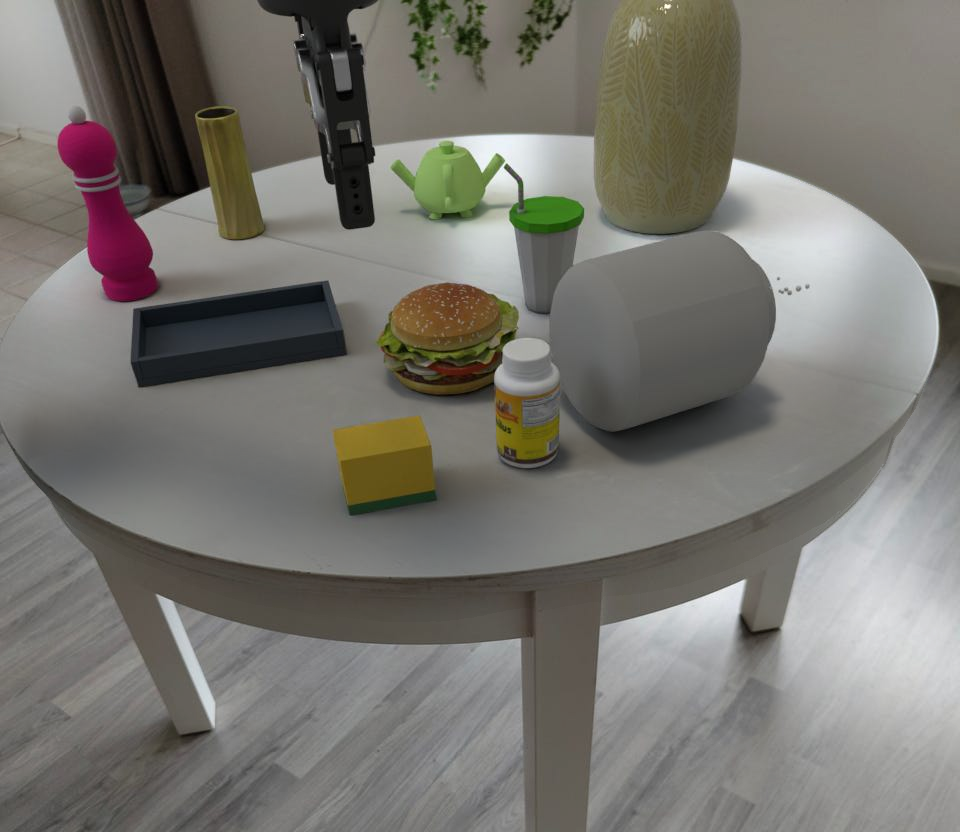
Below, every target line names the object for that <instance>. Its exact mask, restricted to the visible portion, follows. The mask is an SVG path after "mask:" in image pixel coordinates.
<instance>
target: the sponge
mask: <svg viewBox="0 0 960 832" xmlns="http://www.w3.org/2000/svg"><path fill="white" fill-rule="evenodd" d="M332 436H333V441H334V448H335V453H336V459H337V464H338V469H339V474H340V481H341V485H342V490H343V493H344V497H345V498H344V499H345V502H346V506H347V510H348V515H349V516H354V515H359V514H365V513H371V512H376V511H381V510H386V509H387V510H388V509H394V508H398V507H403V506H410V505H415V504H419V503H420V504H421V503H426V502H431V501H436V500H437V492H436V482H435V480H436V479H435V471H434V461H433V459H434V458H433V451H432V444H431V441H430V438H429V435H428V433H427V431H426V428H425V425H424V422H423V419H422V417H421V415H420V414H419V415H413V416H407V417H399V418H395V419H389V420H383V421H376V422H371V423H365V424H359V425H354V426H353V425H352V426H348V427H341V428H335V429H332Z"/></svg>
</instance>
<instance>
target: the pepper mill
mask: <svg viewBox="0 0 960 832" xmlns="http://www.w3.org/2000/svg"><path fill="white" fill-rule="evenodd" d="M67 117H68V119H69V121H70V123H68V124H67V125H65V126H64V127H63V128H62V129H61V130H60V132H59V134H58V136H57V141H56V142H57V143H56V144H57V151H58V155H59V157H60V159H61V161H62V163H63V164H64V165H65V166H66V167H67V168H68V169H70V170H71V171H72V175H71V178H72V179H71V180H73V182H74V188H75V190H77V191H80V193H81V196H82V197H83V200H84V202H85V206H86V209H87V214H88V230H87V240H86V249H87V250H86V251H87V257H88V260H89V264H90V265H91V267H92V268H93V269H94V270H95V271H96V272H97V273H98V274H100V275H102V277H101V280H100V282H101V285H102V289H103V292H104V295H105V296H106V297H107V298H108V299H109V300H112V301H116V302H134V301H137V300H141V299H145V298H147V297H149V296H150V295H152V294H154V293H155V292H156V291H157V289H158V288H159V283H158V279H157V276H156V271H155V270H154V269H153V268H151V267H150V265H151V263H152V261H153V257H154V251H153V247H152V245H151V242H150V240H149V239H148V237H147V235H146V233H145V232H144V230H143V229H142V228H141V227H140V225H139V224H138V222H137V221H136V220H135V219H134V217H133V216H132V215H131V213H130V212H129V209H127V207H126V204H125V202H124V199H123V196H122V194H121V190H120V189H121V188H120V184H121V182H122V177H121V175H120V174H119V172H120V170H119V167H117V166H115V165H114V164H115V161H116V159H117V156H118V148H117V144H116V141H115V138H114V137H113V135H112V134H111V132H110V131H109V130H108V129H107V128H106V127H105V126H104V125H102V124H100V123H98V122H96V121H93V120H87V115H86V112H85V110H84V109H83V108H82V107H80V106H78V105H72V106H71V107H69V108H68V110H67Z"/></svg>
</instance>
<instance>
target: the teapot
mask: <svg viewBox="0 0 960 832" xmlns="http://www.w3.org/2000/svg"><path fill="white" fill-rule="evenodd" d="M438 145H439V146H436V147H432V148H431V149H429V150H427V151H426V152H425V154H424V155H423V157H422V158H421V161H420V163H419V165H418V168H417V170H416V172H415V175H414V174H413V173H412V172H411V171H410V170H409V169H408V168H407V166H406V165H405V164H404V163H403V162H402V161H401V160H400V159H396V160H395V161H394V162H393V163H392V164H391V166H390V170H391V171H393V173H394V174H395V175H396V176H397V177H398V178H399V179H400V180H401V181H403V183H404V184H405V185H406V186H407V187H408V188H409V189H410V190H411V191H412V192H413V196H414V199H415V201H416V202H417V203H418V204H419V205H420V206H421V207H422V208H423V209H424V210H426V211H427V212H430V214H429V216H428V218H429V219H431V220H440V219H442V218H443V214H454V213H459V216H460V217H461V218H471V217H473V216H474V214H473V212H472V210H471V209H474V208H475V207H477V205H479V204H480V202H481V200H482V199H483V198H484V196H485V194H486V188H487V186H488V185H489V184H490V183H491V181H492V179H493V178H494V177H495V176H496V175H497V173H498V172H499V170H500V169H501V168H502V166H503V165H505V163H506V159H505V158H504V157H503V156H502V155H501V154H499V153H497V152H496V153H495V154H494V155H493V157H492V158H491V160H490V161H489V162H488V164H487V166H486V167H485V168H484V170H483V171H482V169H481V168H480V165H479V164H478V162H477V161H476V159H475V158H474V156H473V154H472V153H471V151H470V150H469V149H467V148H466V147H465V146H460V145H455V142H454V141H453V140H452V141H451V140H443V141H440V142H439V143H438Z"/></svg>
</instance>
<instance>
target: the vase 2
mask: <svg viewBox="0 0 960 832" xmlns="http://www.w3.org/2000/svg"><path fill="white" fill-rule="evenodd" d="M742 54H743V39H742V25H741V20H740V15H739V12H738V9H737V6H736V4H735V2H734V0H620V1H619V2H618V4H617V6H616V8H615V10H614V12H613V14H612V15H611V18H610V21H609V23H608V26H607V30H606V35H605V38H604V42H603V48H602V54H601V59H600V65H599V66H600V67H599V71H598V72H599V74H598V80H597V82H598V83H597V91H596V102H595V115H594V127H593V128H594V129H593V183H594V189H595V194H596V197H597V200H598V202H599V204H600V206H601V210H602V211H603V213H604V215H605V217H606V219H607V220H608V221H609V222H610V223H611V224H612V225H614V226H616V227H618V228H620V229H623V230H626V231H631V232H634V233H639V234H648V235H669V234H677V233H678V234H679V233H682V232H683V233H684V232H687V231H691V230H693V229H697V228H699V227H701V226H702V225H704V224H705V223H707V222H708V221H709V220H710V219H711V217H712V215H713V214H714V212H715V211H716V209H717V208H718V206H719V205H720V203H721V201H722V199H723V197H724V195H725V193H726V191H727V188H728V185H729V181H730V177H731V172H732V166H733V161H734V152H735V147H736V140H737V134H738V133H737V131H738V123H739V112H740V104H741V103H740V102H741V101H740V100H741V87H742V72H743V71H742V70H743V69H742V67H743V65H742V64H743V55H742Z"/></svg>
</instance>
